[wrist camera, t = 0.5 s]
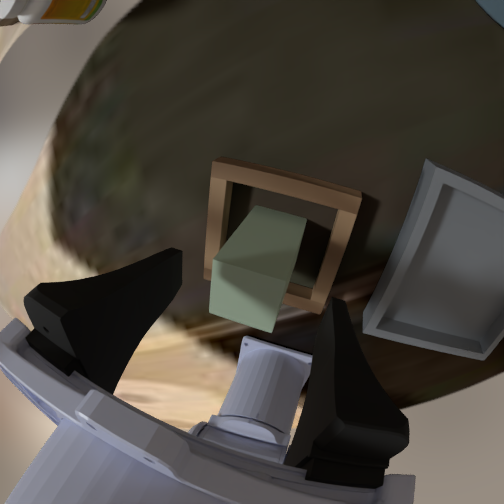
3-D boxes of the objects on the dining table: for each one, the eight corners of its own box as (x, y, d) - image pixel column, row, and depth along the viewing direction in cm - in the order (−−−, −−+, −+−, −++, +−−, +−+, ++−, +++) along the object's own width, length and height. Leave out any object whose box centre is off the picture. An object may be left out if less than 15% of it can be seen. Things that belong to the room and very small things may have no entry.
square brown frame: (322, 303, 24) (320, 314, 23) (210, 269, 26) (203, 278, 25) (361, 191, 19) (362, 198, 18) (220, 156, 21) (212, 161, 19)
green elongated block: (295, 262, 23) (271, 333, 17) (248, 249, 24) (209, 312, 17) (307, 218, 21) (286, 281, 15) (255, 205, 22) (212, 259, 15)
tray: (478, 342, 21) (483, 360, 19) (363, 312, 24) (362, 332, 22) (549, 222, 14) (563, 236, 12) (425, 158, 16) (436, 166, 14)
